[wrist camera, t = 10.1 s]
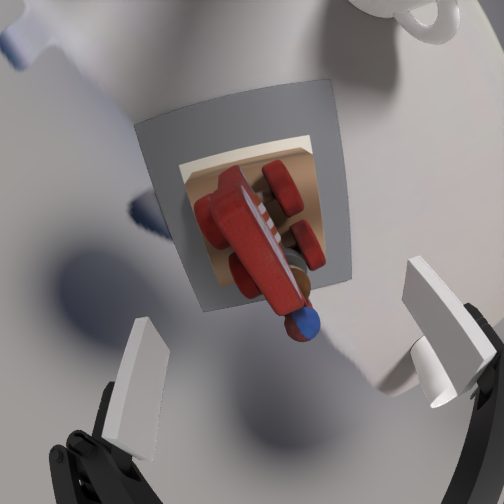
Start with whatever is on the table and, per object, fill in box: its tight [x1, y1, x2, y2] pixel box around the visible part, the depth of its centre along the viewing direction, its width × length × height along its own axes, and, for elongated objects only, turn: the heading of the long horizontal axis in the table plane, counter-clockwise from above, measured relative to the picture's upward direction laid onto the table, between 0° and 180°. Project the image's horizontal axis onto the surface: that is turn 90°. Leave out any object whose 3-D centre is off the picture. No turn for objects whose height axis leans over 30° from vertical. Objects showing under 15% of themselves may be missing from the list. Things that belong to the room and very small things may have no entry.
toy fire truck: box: [194, 160, 326, 342], centre depth 18 cm, size 7×12×10 cm, turn 26°
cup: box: [410, 335, 458, 408], centre depth 35 cm, size 9×9×12 cm
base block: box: [185, 147, 326, 287], centre depth 24 cm, size 10×10×4 cm
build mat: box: [134, 79, 352, 312], centre depth 26 cm, size 22×18×1 cm
